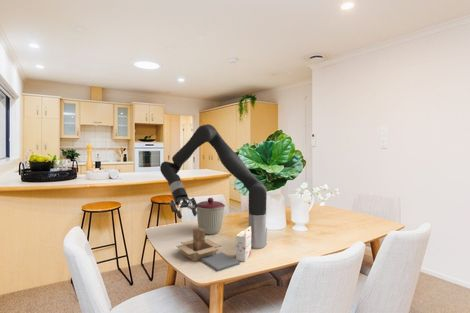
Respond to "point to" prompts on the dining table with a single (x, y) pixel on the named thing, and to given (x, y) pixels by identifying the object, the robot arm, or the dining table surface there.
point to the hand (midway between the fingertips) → (188, 216)
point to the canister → (210, 216)
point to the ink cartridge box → (243, 245)
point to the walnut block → (198, 239)
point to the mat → (219, 261)
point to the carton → (196, 255)
